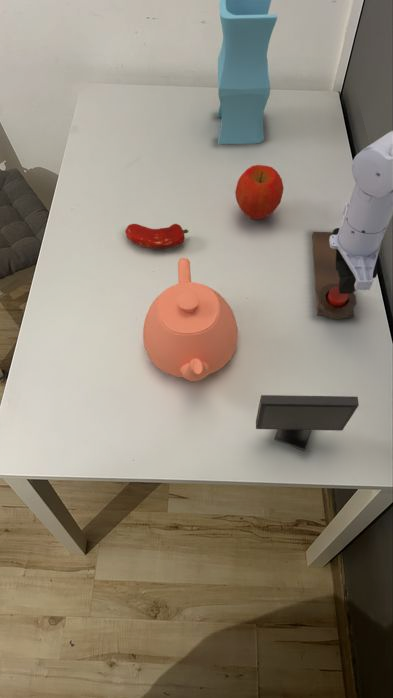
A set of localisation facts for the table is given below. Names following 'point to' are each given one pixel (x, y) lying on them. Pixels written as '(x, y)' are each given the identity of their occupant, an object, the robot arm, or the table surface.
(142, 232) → the vegetable
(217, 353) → the teapot
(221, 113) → the vase
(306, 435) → the monitor stand
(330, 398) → the panel
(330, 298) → the power button
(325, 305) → the brown board with ring
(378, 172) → the robot arm
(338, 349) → the table surface
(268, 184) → the apple
